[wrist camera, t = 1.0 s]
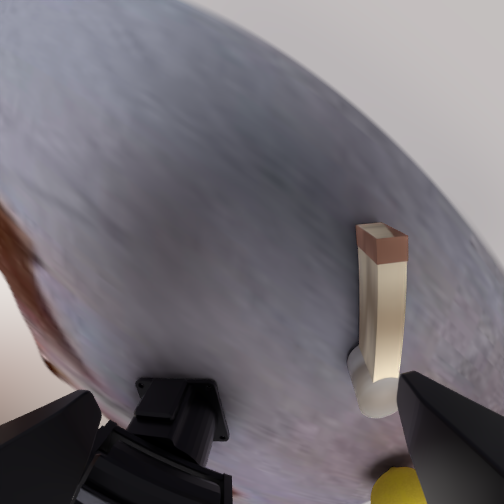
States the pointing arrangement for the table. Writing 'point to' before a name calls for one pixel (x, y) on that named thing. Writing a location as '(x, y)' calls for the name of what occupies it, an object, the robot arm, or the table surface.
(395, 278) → the cream brown-tipped bar
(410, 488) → the lemon
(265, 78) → the table surface
